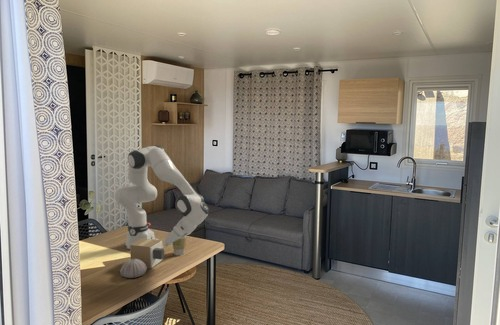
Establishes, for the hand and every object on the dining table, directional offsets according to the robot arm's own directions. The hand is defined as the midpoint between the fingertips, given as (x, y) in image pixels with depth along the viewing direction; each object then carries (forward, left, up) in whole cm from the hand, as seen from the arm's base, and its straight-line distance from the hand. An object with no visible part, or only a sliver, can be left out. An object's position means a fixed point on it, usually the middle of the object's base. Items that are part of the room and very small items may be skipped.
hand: (169, 242), depth 203 cm
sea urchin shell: (+13, -15, -14) cm, 24 cm away
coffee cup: (-22, -5, -14) cm, 27 cm away
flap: (-3, -7, -14) cm, 16 cm away
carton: (-3, -16, -14) cm, 22 cm away
